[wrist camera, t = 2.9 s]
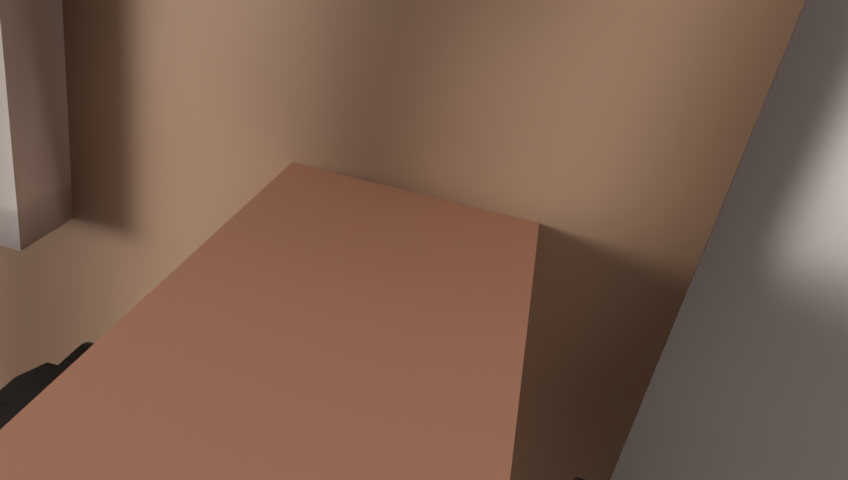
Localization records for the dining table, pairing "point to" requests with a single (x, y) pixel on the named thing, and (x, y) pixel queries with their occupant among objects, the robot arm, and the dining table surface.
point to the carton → (305, 349)
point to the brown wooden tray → (387, 159)
